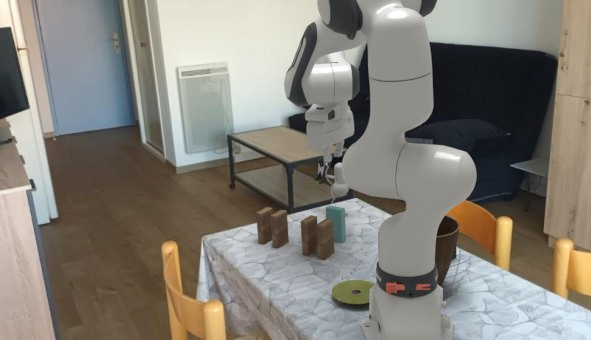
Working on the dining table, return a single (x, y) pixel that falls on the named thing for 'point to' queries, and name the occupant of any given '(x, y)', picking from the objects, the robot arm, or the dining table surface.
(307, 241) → the walnut tile
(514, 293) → the dining table surface
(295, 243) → the dining table surface
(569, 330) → the dining table surface
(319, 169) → the clip-on lamp
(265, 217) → the walnut tile
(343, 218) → the teal tile
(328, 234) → the walnut tile
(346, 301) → the green disc
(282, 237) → the walnut tile
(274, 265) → the dining table surface
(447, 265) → the plant pot
